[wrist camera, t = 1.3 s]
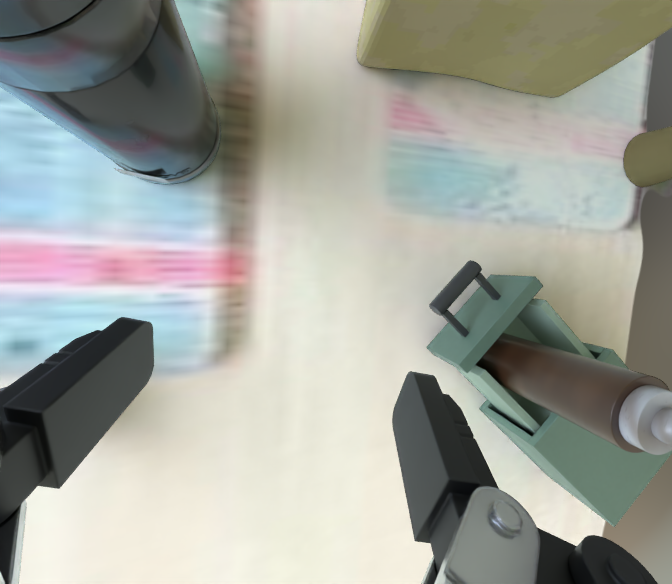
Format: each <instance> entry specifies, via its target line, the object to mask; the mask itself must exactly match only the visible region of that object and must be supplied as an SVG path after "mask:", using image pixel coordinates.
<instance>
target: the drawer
mask: <svg viewBox="0 0 672 584" xmlns="http://www.w3.org/2000/svg"><path fill="white" fill-rule="evenodd" d="M481 270H482V268H481V266H480V265H479V264H478V263H476V262H474V261H471V260H470V261H468V262H467V263H466V264H465V265H464V267H463V268H462V269H461V270H460V271H459V272H458V273H457V274H456V275H455V277H454V278H453V279H452V280H451V281H450V282H449V283H448V284H447V286H446V287H445V288H444V289H443V290H442V291H441V292H440V293H439V294H438V296H437V297H436V298H435V299H434V300H433V301H432V302H431V303H430V305H429V307H430V308H431V309H432V310H433V311H434V312H435V313H436V314H438V315H442V316H443V317H444V318H445V319H446V320H447V321H448V324H447V325H446V326H445V327H444V328H443V329H442V330H441V332H440V333H439V334H438V335H437V336H436V337H435V338H434V339H433V341H432V342H431V343H430V344H429V345H428V346H427V349H428V350H429V351H430V352H431V353H432V354H433V355H435V356H437V357H439V358H440V359H442V360H444V361H446V362H448V363H449V364H451V365H453V366H454V367H455V368H456V369H457V370H458V371H459V372H460V373H461V374H462V375H463V376H464V377H465V378H466V379H467V380H468V381H469V382H470V383H471V384H472V385H474V386H475V387H476V388H477V389H478V390H479V391H480V392H481V393H482V394H483V395H484V396H485V397H486V398H487V399H488V400H489V401H490V402H491V403H492V404H493V405H494V406H495V407H496V408H497V409H498V410H499V411H500V412H501V413H502V414H503V415H504V416H505V417H506V418H507V419H509V420H511V421H512V422H514V423H515V424H517V425H518V426H520V427H521V428H523V429H524V430H526V431H527V432H529V433H530V434H532V435H534V434H535V433H536V432H537V430H538V429H539V428H540V427H541V426H542V424H543V423H544V422H545V421H546V419H547V418H548V417H549V416H550V415H551V413H552V412H551V411H549V410H547V409H545V408H543V407H541V406H540V405H538V404H536V403H534V402H532V401H530V400H528V399H526V398H524V397H522V396H521V395H519V394H517V393H515V392H513V391H511V390H509V389H507V388H505V387H503V386H502V385H500V384H499V383H498V382H497V381H496V380H495V379H494V378H493V377H492V376H491V375H490V374H489V373H488V372H487V371H486V370H485V369H482V368H480V367H478V366H476V365H475V364H476V363H477V362H478V361H479V360H480V359H481V357H482V356H483V355H484V354H485V353H486V352H487V350H488V349H489V348H490V347H491V346H492V345H493V343H494V342H495V341H496V340H497V339H498V338H499V337H500V335H501V334H502V333H506V334H509V335H513V336H516V337H519V338H523V339H526V340H530V341H533V342H537V343H540V344H543V345H547V346H550V347H554V348H557V349H560V350H564V351H567V352H571V353H574V354H577V355H581V356H584V357H588V358H591V359H595V357H594V356H593V355H592V354H591V353H590V352H589V350H588V349H587V348H586V347H585V346H584V344H583V343H582V342H581V341H580V340H579V339H578V337H577V336H576V335H575V334H574V333H573V332H572V330H571V329H570V328H569V327H568V326H567V325H566V323H565V322H564V321H563V320H562V319H561V318H560V316H559V315H558V314H557V313H556V312H555V311H554V309H553V308H552V307H551V306H550V305H549V304H548V302H547V301H546V300H540V299H532V298H533V297H534V296H535V295H536V294H537V293H538V291H539V290H540V289H541V288H542V287H543V285H542V284H541V283H540V281H539V280H538V279H537V278H536V277H534V276H510V275H490V276H489V277H488V278H487V279H486V278H485V277H484V276H483V275H482V274H481V273H480V272H481ZM474 279H475V280H476V281H477V283H478V284H479V285H480V287H479V289H478V290H477V291H476V292H475V293H474V294H473V295H472V296H471V298H470V299H469V300H468V301H467V302H466V303H465V304H464V305H463V307H462V308H461V309H460V310H459V311H458V312H457V313H456V315H455V316H453V315H452V314H451V313H450V312H449V311H448V310H447V309H448V308H449V307H450V306H451V304H452V303H453V302H454V301H455V300H456V299H457V298H458V297H459V295H460V294H461V293H462V292H463V291H464V290H465V289H466V288H467V286H468V285H469V284H470V283H471V282H472V281H473V280H474ZM595 360H596V359H595Z"/></svg>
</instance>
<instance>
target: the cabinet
mask: <svg viewBox="0 0 672 584" xmlns="http://www.w3.org/2000/svg"><path fill="white" fill-rule="evenodd" d="M582 343H583V342H582ZM583 344H584V346H585V347H586V348H587V349H588V350H589V352H590V353H591V354H592V355H593V356H594V357H595V359H596V360H598V361H601V362H605V363H608V364H612V365H615V366H618V367H622V368H625V369H628V368H627V366H626V365H625V364H624V363H623V361H622V360H621V359H620V358H619V357H618V355H617V354H616V353H615V352H614V350H611V349H607V348H603V347H599V346H595V345H591V344H587V343H583ZM480 410H481V411H482V412H483V413H484V414H485V415H486V416H487V417H488V418H489V419H490V420H491V421H492V422H493V423H494V424H495V425H496V426H497V427H498V428H499V429H500V430H501V431H502V432H503V433H504V434H506V435H507V436H508V437H509V438H510V439H511V440H512V441H513V442H514V443H515V444H516V445H517V446H518V447H519V448H520V449H521V450H522V451H523V452H524V453H525V454H526V455H527V456H528V457H529V458H530V459H531V460H532V461H533V462H534V463H535V464H536V465H537V466H538V467H539V468H540V469H541V470H542V471H543V472H544V473H545V474H546V475H547V476H549V477H550V478H551V479H552V480H554V481H555V482H556V483H558V484H559V485H560V486H561V487H563V488H564V489H565V490H567V491H568V492H569V493H571V494H572V495H573V496H574V497H576V498H577V499H578V500H580V501H581V502H582V503H584V504H585V505H586V506H588V507H589V508H590V509H591V510H593V511H594V512H595V513H597V514H598V515H599V516H601V517H602V518H603V519H604V520H606V521H607V522H608V523H610V524H611V525H612V526H614V527H615V526H616V524H617V523H618V522H619V520H620V519H621V518H622V517H623V515H624V514H625V513H626V511H627V510H628V509H629V507H630V506H631V505H632V504H633V502H634V501H635V500H636V499H637V497H638V496H639V495H640V493H641V492H642V491H643V490H644V488H645V487H646V486H647V484H648V483H649V482H650V481H651V479H652V478H653V477H654V475H655V474H656V473H657V472H658V470H659V469H660V468H661V467H662V465H663V464H664V463H665V461H666V460H667V459H668V458H669V456H670V455H671V454H672V450H671V451H669V452H668V453H665V454H662V455H653V454H649V453H647V452H641V453H631V452H627V451H625V450H623V449H621V448H619V447H617V446H615V445H614V444H612V443H610V442H608V441H606V440H604V439H602V438H600V437H598V436H596V435H595V434H593V433H591V432H589V431H587V430H585V429H583V428H581V427H579V426H577V425H576V424H574V423H572V422H570V421H568V420H566V419H564V418H562V417H560V416H558V415H557V414H555V413H553V412H552V413H551V415H550V416H549V417H548V418H547V419H546V421H545V422H544V423H543V424H542V426H541V427H540V428H539V429H538V430H537V432H536V433H535V434H534V435H532V434H530V433H529V432H527V431H526V430H524V429H523V428H521V427H520V426H518V425H517V424H515V423H514V422H512V421H511V420H509V419H507V418H506V417H505V416H504V415H503V414H502V413H501V412H500V411H499V410H498V409H497V408H496V407H495V406H494V405H493V404H492V403H491V402H490V401H489V400H488V399H487V400H486V401H485V403H484V404H483V405H482V406H481V407H480Z"/></svg>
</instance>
